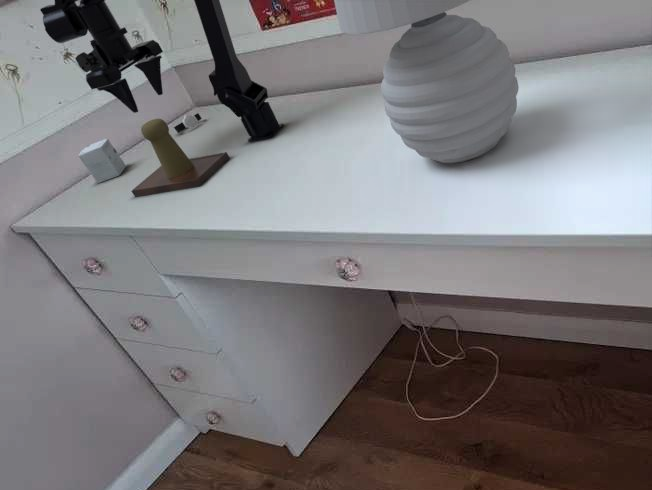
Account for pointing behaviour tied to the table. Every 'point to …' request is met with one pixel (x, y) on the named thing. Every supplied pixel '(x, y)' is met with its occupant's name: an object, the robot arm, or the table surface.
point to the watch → (188, 122)
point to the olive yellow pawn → (166, 148)
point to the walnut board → (182, 176)
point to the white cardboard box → (102, 160)
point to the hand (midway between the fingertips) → (148, 103)
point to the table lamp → (439, 76)
